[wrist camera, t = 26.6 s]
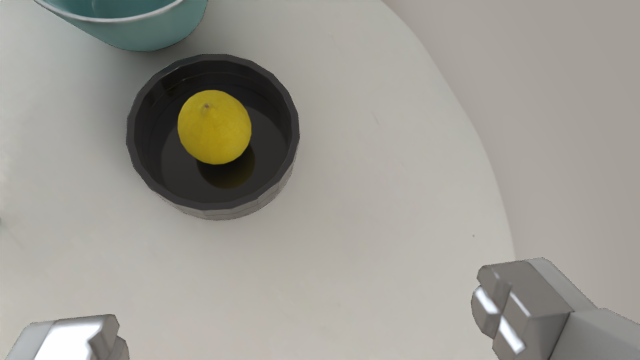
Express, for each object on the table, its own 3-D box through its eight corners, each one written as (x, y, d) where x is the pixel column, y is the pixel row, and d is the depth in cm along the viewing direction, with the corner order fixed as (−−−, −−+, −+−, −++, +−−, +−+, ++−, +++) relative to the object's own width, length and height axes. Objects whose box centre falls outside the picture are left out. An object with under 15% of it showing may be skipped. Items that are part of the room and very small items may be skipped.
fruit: (265, 138, 35) (263, 95, 27) (229, 188, 33) (216, 157, 26) (214, 106, 35) (198, 54, 28) (175, 154, 34) (147, 113, 26)
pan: (265, 65, 38) (264, 36, 33) (317, 188, 35) (324, 174, 31) (126, 106, 35) (105, 80, 30) (171, 244, 32) (155, 236, 28)
